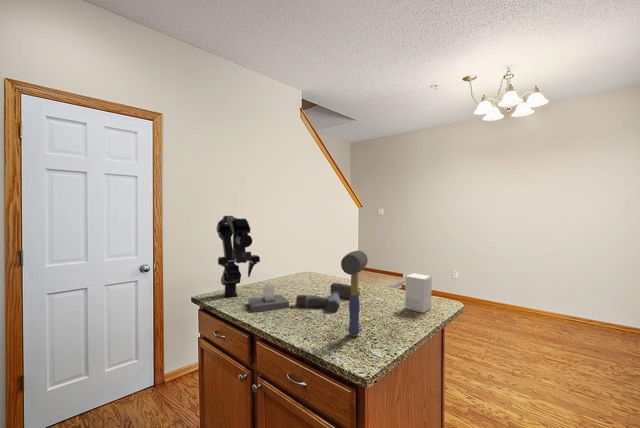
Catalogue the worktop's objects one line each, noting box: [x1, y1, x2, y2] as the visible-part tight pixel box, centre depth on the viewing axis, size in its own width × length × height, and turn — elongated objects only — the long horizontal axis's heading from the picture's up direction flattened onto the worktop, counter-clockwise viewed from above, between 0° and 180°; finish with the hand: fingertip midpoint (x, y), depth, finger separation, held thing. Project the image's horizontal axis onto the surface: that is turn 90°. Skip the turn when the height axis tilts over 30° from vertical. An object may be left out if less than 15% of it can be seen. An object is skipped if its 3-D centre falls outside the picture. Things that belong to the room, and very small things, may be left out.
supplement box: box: [404, 273, 432, 313], centre depth 132 cm, size 9×9×15 cm
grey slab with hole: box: [248, 294, 290, 313], centre depth 134 cm, size 12×16×2 cm
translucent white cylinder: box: [262, 284, 275, 303], centre depth 134 cm, size 4×4×9 cm
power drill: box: [295, 291, 341, 313], centre depth 137 cm, size 5×19×20 cm
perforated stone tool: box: [329, 282, 361, 299], centre depth 148 cm, size 15×5×7 cm, turn 68°
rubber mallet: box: [340, 250, 369, 337], centre depth 103 cm, size 12×8×30 cm, turn 158°
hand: (238, 277), depth 137 cm, fingers open, 9 cm apart
